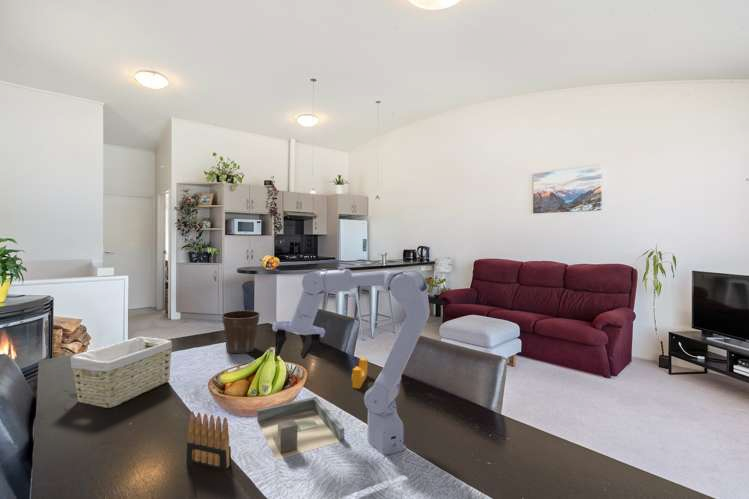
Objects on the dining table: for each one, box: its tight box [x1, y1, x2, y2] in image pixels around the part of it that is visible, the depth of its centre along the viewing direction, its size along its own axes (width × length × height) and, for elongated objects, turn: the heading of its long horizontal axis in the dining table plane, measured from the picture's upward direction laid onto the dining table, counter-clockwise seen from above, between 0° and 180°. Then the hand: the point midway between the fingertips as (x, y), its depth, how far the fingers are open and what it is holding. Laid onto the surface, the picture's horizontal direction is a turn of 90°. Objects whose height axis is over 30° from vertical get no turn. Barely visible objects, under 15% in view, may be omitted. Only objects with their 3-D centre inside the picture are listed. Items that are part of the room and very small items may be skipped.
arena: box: [256, 396, 345, 461], centre depth 97 cm, size 20×17×4 cm
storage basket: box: [70, 336, 173, 409], centre depth 120 cm, size 24×16×15 cm
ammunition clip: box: [186, 410, 232, 471], centre depth 82 cm, size 11×2×12 cm, turn 73°
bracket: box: [273, 420, 297, 454], centre depth 90 cm, size 7×4×6 cm, turn 29°
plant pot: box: [221, 310, 261, 354], centre depth 165 cm, size 16×16×16 cm
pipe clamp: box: [351, 357, 368, 389], centre depth 132 cm, size 12×4×6 cm, turn 169°
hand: (289, 355), depth 102 cm, fingers open, 7 cm apart
